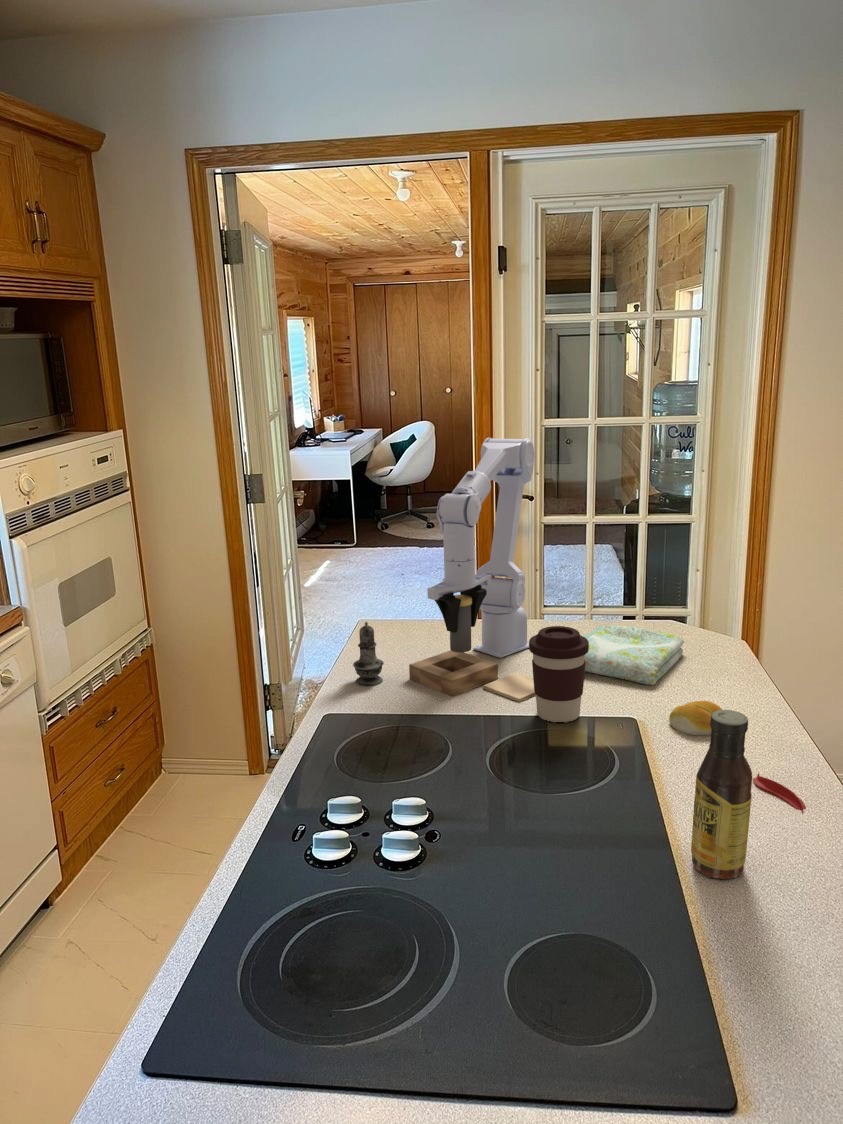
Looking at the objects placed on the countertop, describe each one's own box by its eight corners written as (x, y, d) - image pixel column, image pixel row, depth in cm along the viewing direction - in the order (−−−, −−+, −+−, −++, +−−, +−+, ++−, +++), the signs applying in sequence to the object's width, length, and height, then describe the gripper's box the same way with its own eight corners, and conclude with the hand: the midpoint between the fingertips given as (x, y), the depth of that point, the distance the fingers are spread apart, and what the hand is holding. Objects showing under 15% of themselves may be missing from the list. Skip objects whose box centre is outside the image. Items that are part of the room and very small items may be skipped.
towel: (686, 654, 174) (687, 630, 173) (653, 690, 157) (654, 663, 156) (601, 641, 184) (602, 618, 183) (561, 673, 166) (561, 648, 165)
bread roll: (736, 727, 140) (737, 704, 139) (700, 741, 136) (701, 718, 135) (695, 710, 147) (696, 688, 146) (659, 724, 142) (660, 701, 141)
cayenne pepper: (744, 775, 125) (745, 763, 125) (776, 774, 125) (776, 762, 125) (777, 819, 113) (778, 806, 113) (812, 817, 113) (813, 804, 113)
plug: (461, 643, 165) (460, 593, 163) (477, 648, 162) (476, 598, 159) (444, 648, 162) (443, 598, 160) (460, 654, 159) (459, 602, 157)
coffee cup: (593, 708, 149) (595, 626, 145) (579, 731, 140) (580, 644, 137) (539, 700, 153) (539, 620, 149) (521, 722, 144) (521, 637, 141)
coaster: (516, 675, 165) (516, 672, 165) (552, 687, 158) (552, 684, 158) (483, 688, 159) (483, 685, 159) (519, 701, 152) (519, 698, 152)
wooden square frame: (454, 663, 172) (454, 649, 172) (497, 678, 164) (497, 663, 163) (409, 679, 165) (409, 664, 164) (452, 696, 156) (452, 680, 155)
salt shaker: (386, 675, 167) (383, 616, 164) (382, 686, 162) (379, 626, 159) (356, 675, 168) (353, 616, 165) (351, 686, 162) (348, 626, 159)
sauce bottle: (682, 854, 105) (689, 704, 101) (731, 850, 106) (740, 701, 101) (703, 886, 99) (712, 728, 94) (755, 882, 100) (766, 724, 95)
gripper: (472, 548, 165) (473, 615, 169) (415, 561, 156) (418, 632, 159) (498, 553, 160) (499, 623, 163) (441, 568, 151) (443, 641, 154)
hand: (461, 628), depth 161 cm, fingers closed on plug, 4 cm apart
